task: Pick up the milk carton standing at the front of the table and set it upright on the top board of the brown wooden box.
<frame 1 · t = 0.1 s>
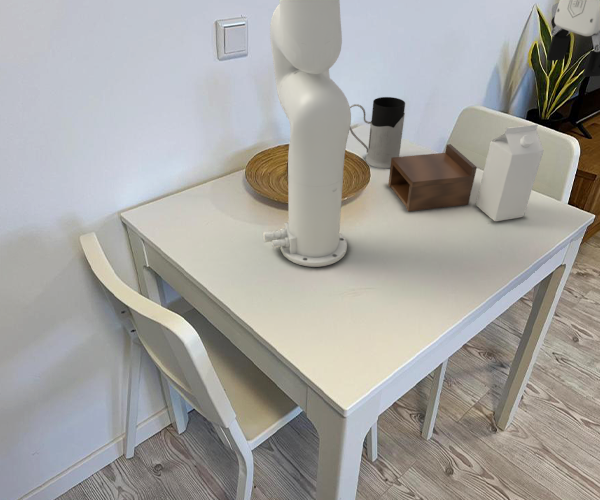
hand: (572, 67, 88), 31 cm above the table, tool pointing down, fingers open, 9 cm apart
milk carton: (498, 212, 109), on the table
brown wooden box: (427, 194, 115), on the table
glass holder: (371, 160, 130), on the table
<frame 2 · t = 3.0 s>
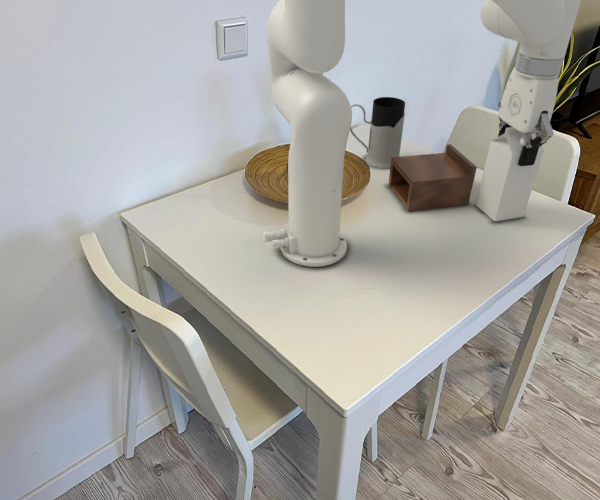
hand: (514, 155, 102), 13 cm above the table, tool pointing down, fingers closed on milk carton, 7 cm apart
milk carton: (498, 212, 109), on the table, touching gripper
everything else where it was.
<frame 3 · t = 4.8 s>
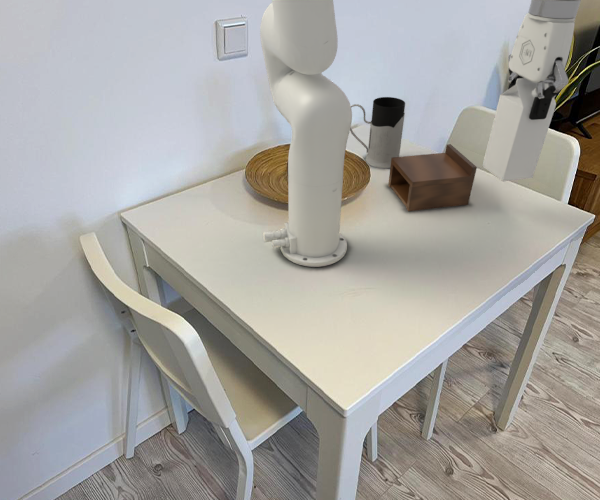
hand: (524, 110, 96), 22 cm above the table, tool pointing down, fingers closed on milk carton, 7 cm apart
milk carton: (506, 173, 104), point 9 cm above the table, touching gripper
everything else where it was.
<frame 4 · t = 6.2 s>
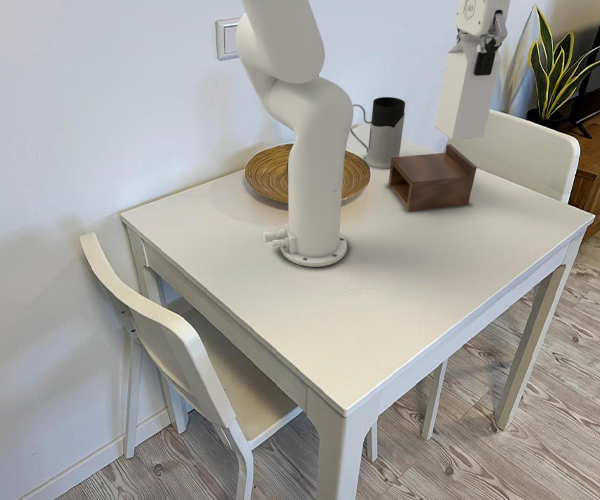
hand: (471, 68, 97), 28 cm above the table, tool pointing down, fingers closed on milk carton, 7 cm apart
milk carton: (458, 133, 104), point 15 cm above the table, touching gripper
everything else where it was.
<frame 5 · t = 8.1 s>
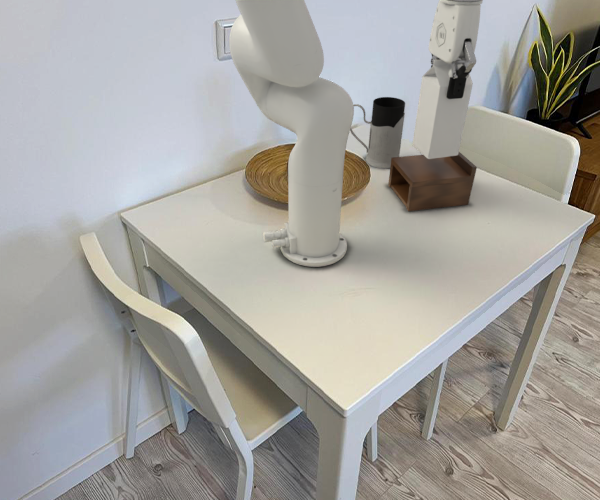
hand: (445, 90, 101), 23 cm above the table, tool pointing down, fingers closed on milk carton, 7 cm apart
milk carton: (434, 152, 109), point 10 cm above the table, touching gripper
everything else where it was.
when the fingers open (20 cm above the table, at t = 9.7 s): milk carton stays where it is, resting on brown wooden box.
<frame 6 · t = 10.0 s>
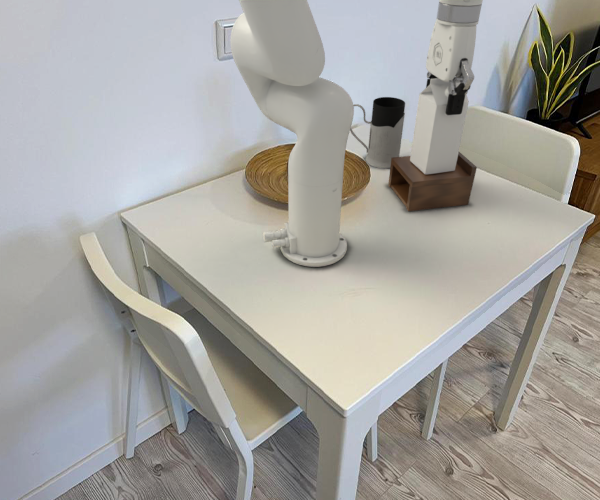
hand: (442, 105, 103), 20 cm above the table, tool pointing down, fingers open, 9 cm apart
milk carton: (431, 167, 111), point 7 cm above the table, touching brown wooden box
everything else where it was.
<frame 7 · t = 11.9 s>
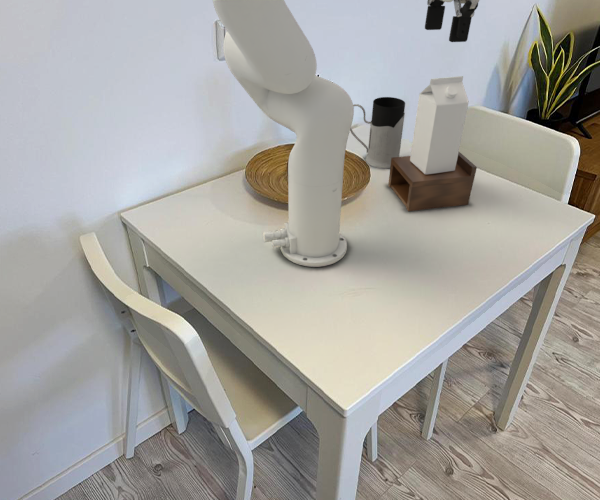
hand: (444, 35, 92), 35 cm above the table, tool pointing down, fingers open, 9 cm apart
nothing on the table moved.
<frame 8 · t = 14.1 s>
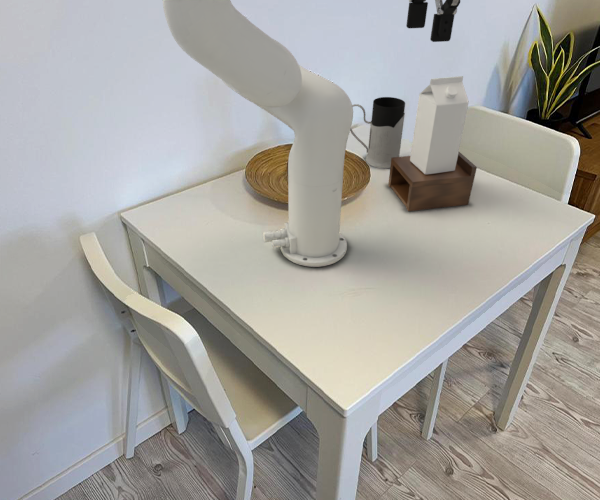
hand: (427, 34, 85), 36 cm above the table, tool pointing down, fingers open, 9 cm apart
nothing on the table moved.
at the end: milk carton inside the target area on the brown wooden box (0.0 cm from its centre), point 6.8 cm above the brown wooden box's base; milk carton tilted 0°; milk carton touching brown wooden box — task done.
